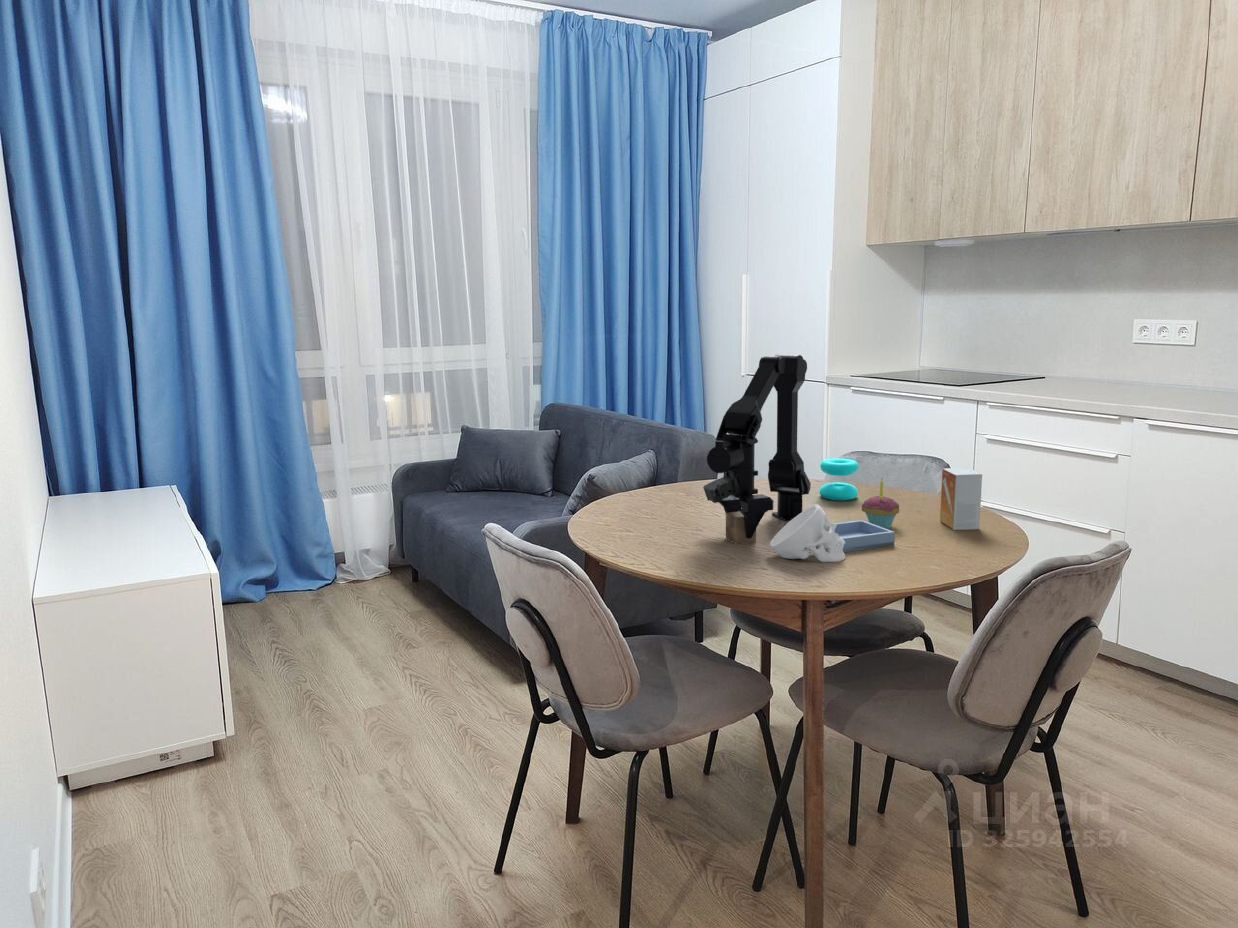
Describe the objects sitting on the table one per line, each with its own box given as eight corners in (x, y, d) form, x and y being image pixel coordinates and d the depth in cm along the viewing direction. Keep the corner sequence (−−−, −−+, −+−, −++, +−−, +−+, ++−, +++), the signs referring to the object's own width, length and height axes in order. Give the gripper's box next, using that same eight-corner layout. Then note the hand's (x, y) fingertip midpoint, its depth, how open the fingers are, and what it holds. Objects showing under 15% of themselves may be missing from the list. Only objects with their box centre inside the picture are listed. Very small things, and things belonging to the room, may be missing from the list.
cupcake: (900, 531, 207) (902, 480, 205) (862, 530, 209) (863, 479, 207) (896, 522, 216) (898, 473, 213) (860, 521, 217) (861, 472, 215)
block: (725, 538, 205) (725, 512, 203) (745, 536, 206) (745, 510, 205) (736, 544, 200) (736, 517, 199) (756, 541, 202) (756, 515, 201)
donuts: (850, 465, 234) (814, 462, 240) (849, 503, 236) (813, 498, 242) (864, 459, 242) (829, 456, 248) (863, 496, 244) (828, 492, 250)
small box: (939, 521, 216) (941, 467, 213) (965, 521, 216) (968, 467, 213) (952, 530, 208) (955, 474, 205) (980, 529, 208) (983, 473, 206)
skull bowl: (856, 559, 182) (824, 508, 181) (796, 593, 185) (764, 543, 184) (852, 544, 192) (821, 496, 191) (795, 576, 195) (764, 529, 195)
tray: (810, 539, 202) (810, 526, 202) (862, 532, 207) (862, 520, 206) (840, 552, 192) (841, 538, 191) (894, 545, 196) (894, 531, 196)
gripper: (690, 461, 206) (690, 528, 209) (728, 476, 189) (728, 548, 192) (733, 457, 210) (733, 523, 213) (775, 471, 193) (774, 542, 195)
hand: (740, 534), depth 203 cm, fingers open, 7 cm apart
